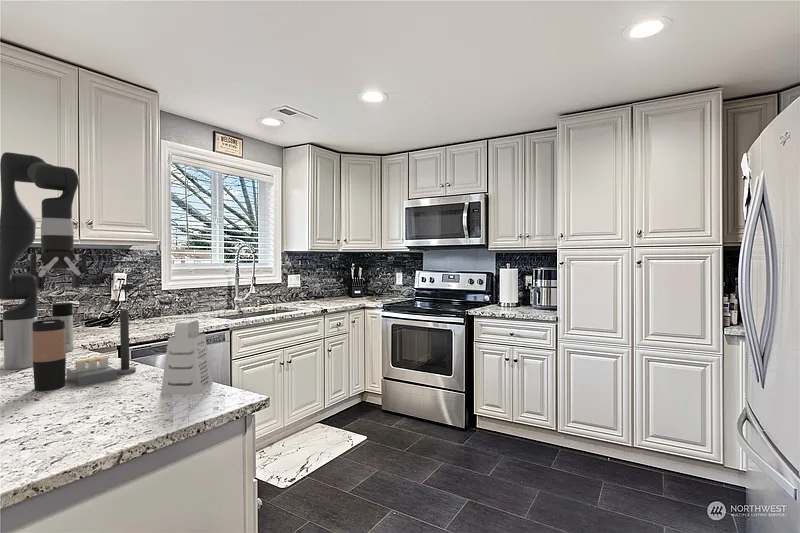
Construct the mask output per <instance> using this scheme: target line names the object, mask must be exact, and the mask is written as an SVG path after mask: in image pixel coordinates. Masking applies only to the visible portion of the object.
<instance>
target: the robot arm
mask: <svg viewBox="0 0 800 533" xmlns="http://www.w3.org/2000/svg"><path fill="white" fill-rule="evenodd" d="M16 182H18V183H19V182H20V183H31V184H34V185H35V186H36V187H37V188H39V189H43V190H51V191H59V192H60V191H61V192H62V193H61V195H60V196H58V197H56V196H55V197H48V198H44V199H42V200H41V223H40V249H41V253H40V254H35V253H29V254H27V257H26V272H25V273H22V272H20V273H12V271H13V269H14V266H15V264H16V262H17V261H18V260H19V258H20V257H21V256H23V254H25V252H26V251H28V249H29V248H30V247H31V246H32V244H34V242H35V239H36V228H37V226H36V224H37V222H36V221H37V220H36V218H35V216H33V214H32V212H31V211H30V210H29V208H28V207H27V206H26V204H24V202H23V200H22V198H20V197H21V196H19V194H18V191H17V189H16ZM79 183H80V176H79V173H78V172H77V171H76V170H75V168H74V169H73V168H72V167H66V166H65V167H64V166H58V165H53V164H50V163H47V162H46V161H45V160H44V159H42V158H41V157H39V156H36V155H32V154H31V155H30V154H24V153H17V152H9V151H8V152H4V153H2V155H1V157H0V191H1V193H0V194H1V195H0V198H1V200H0V201H1V202H0V203H1V204H0V300H1V301H13V300H24V301H23V302H22V303H21V304H19V305H17V306H15V307H13V308H10V309H6V310H4V311H3V312H2V326H3V327H2V330H3V331H2V332H3V335H2V336H3V367H4V369H5V370H18V369H19V370H21V369H27V368H33V328H32V324H33V322H36V321H38V296H39V295H38V293H39V292H38V291H44V290H45V277H44V276H45V274H47V272H49V271H50V270H51V269H52V270H56V269H66V270H67V271H68V272H70V274H71V288H72V289H78V288H79V287H80V285H81V276H82V275H83V274H87V273H88V266H87V255H86V254H85V253H78V254H75V253H74V249H75V248H74V247H75V246H74V240H75V239H74V234H75V232H74V223H73V202H74V198H75V194H76V192H77V189H78V187H79ZM39 260H41V262H42V263H41V265H40V266H39V267H38V268H37V263H38V262H39ZM75 260H76V262H77V266H76V265H75V264H74V263H73V261H75ZM36 269H37V270H36Z"/></svg>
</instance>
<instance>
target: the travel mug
mask: <svg viewBox="0 0 800 533" xmlns="http://www.w3.org/2000/svg"><path fill="white" fill-rule="evenodd" d="M32 328H33V366H32V369H33V384H34V385H33V386H34V391H35V392H49V391H55V390H59V389H61V388H64V387H65V386H66V375H67V373H66V369H67V368H66V367H67V366H66V363H67V356H66V354H67V352H66V348H65V320H64V321H61V320H58V319H56V320H52V319H44V320H37V321H36V322H33V324H32Z"/></svg>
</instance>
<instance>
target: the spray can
mask: <svg viewBox="0 0 800 533" xmlns="http://www.w3.org/2000/svg"><path fill="white" fill-rule="evenodd" d="M51 311H52V312H51V314H52V315H51V320H56V319H58V320H61V321H64V320H65V348H66V353H69V352H73V351H74V322H73V320H74V319H73V316H74V315H73V303H72V302H57V303H52V306H51Z"/></svg>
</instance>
